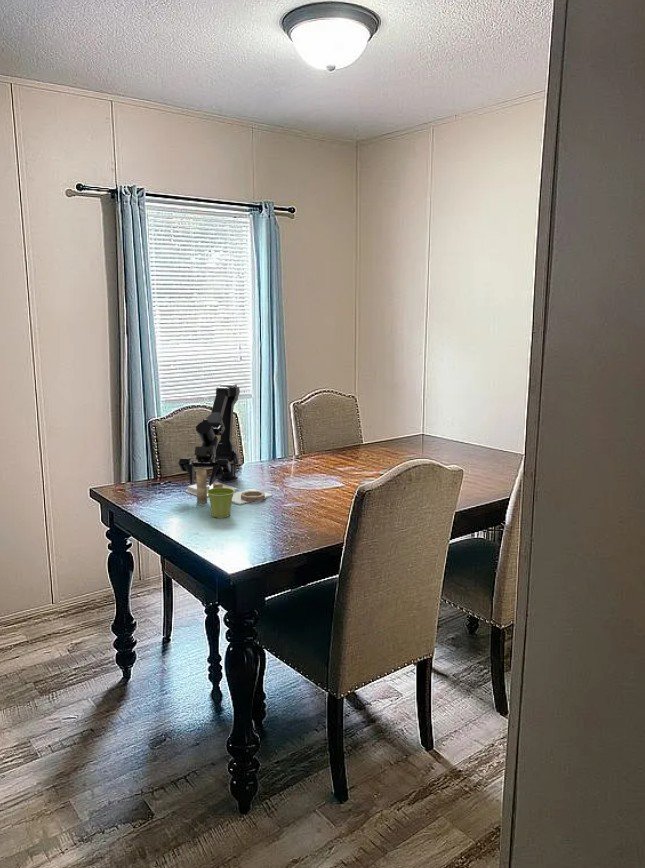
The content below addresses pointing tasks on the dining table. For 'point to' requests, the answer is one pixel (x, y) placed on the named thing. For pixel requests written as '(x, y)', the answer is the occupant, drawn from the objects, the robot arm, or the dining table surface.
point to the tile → (193, 488)
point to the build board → (249, 496)
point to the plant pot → (220, 501)
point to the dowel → (201, 485)
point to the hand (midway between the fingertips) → (200, 485)
